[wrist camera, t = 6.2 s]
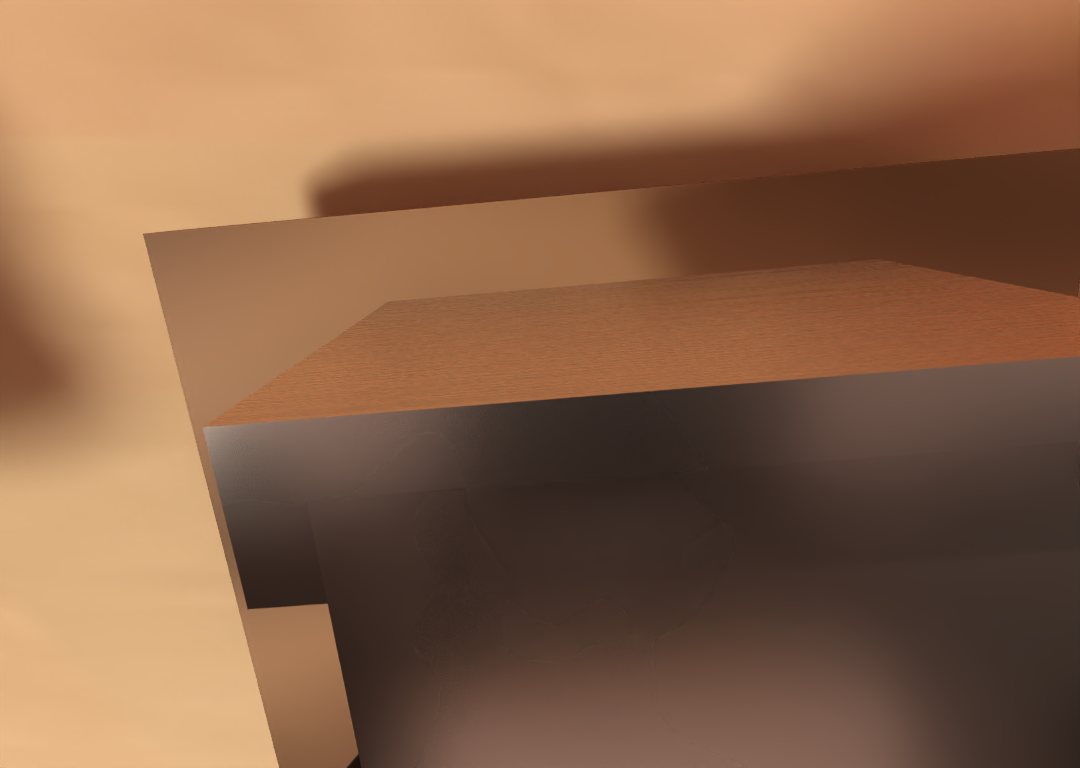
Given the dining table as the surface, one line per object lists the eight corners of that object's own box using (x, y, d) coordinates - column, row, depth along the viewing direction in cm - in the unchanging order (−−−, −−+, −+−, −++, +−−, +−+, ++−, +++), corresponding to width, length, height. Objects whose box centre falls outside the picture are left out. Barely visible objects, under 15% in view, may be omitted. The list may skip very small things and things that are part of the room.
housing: (842, 876, 11) (1049, 1346, 6) (479, 896, 11) (434, 1367, 6) (880, 258, 8) (1299, 339, 3) (387, 301, 8) (202, 426, 4)
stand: (932, 643, 17) (1011, 736, 14) (326, 682, 17) (282, 780, 14) (981, 156, 13) (1100, 146, 11) (226, 225, 14) (143, 233, 11)
